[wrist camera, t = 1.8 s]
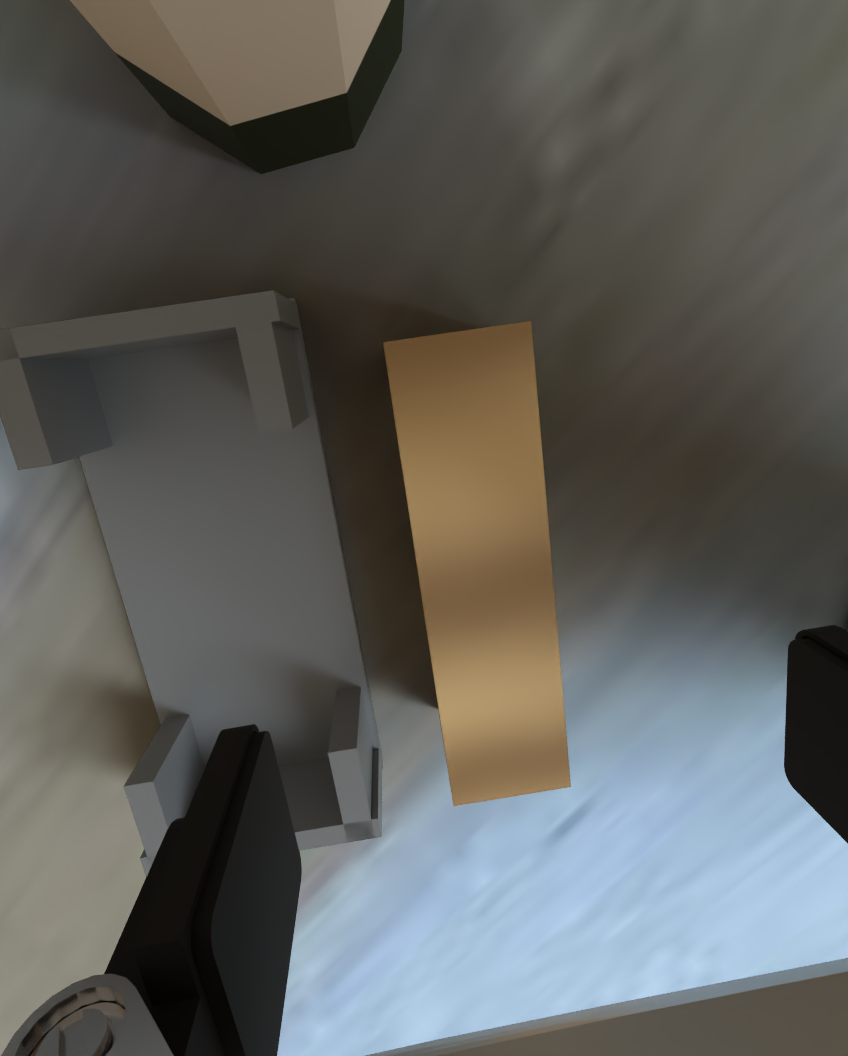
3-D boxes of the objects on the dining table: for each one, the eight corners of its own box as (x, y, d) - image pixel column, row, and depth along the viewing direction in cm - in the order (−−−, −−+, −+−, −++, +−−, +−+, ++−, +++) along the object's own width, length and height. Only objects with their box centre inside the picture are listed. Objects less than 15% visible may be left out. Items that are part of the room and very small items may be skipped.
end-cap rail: (51, 334, 21) (-39, 326, 16) (296, 299, 21) (272, 282, 16) (188, 791, 26) (147, 880, 21) (382, 759, 26) (382, 841, 22)
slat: (383, 347, 22) (383, 342, 16) (492, 331, 22) (531, 321, 16) (437, 706, 26) (453, 805, 20) (528, 691, 26) (570, 786, 20)
